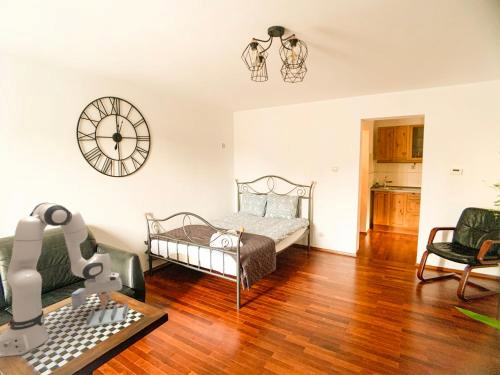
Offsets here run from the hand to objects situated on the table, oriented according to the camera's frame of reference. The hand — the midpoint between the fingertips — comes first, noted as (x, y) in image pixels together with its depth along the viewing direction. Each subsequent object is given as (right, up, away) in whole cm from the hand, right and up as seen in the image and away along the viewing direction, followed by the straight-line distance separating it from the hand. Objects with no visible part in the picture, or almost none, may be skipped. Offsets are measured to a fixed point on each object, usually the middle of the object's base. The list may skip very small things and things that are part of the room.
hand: (104, 298), depth 166 cm
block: (0, -3, 0) cm, 3 cm away
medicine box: (-18, -5, +4) cm, 20 cm away
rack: (+8, -6, -11) cm, 15 cm away
